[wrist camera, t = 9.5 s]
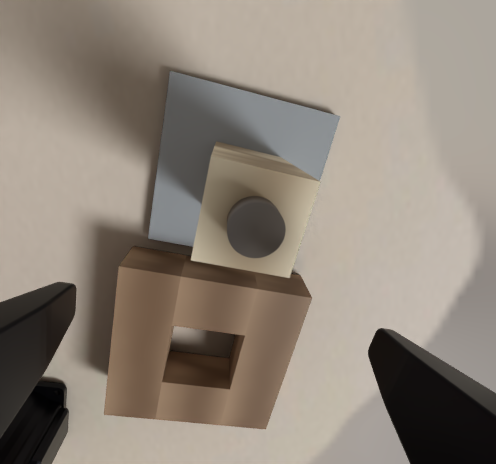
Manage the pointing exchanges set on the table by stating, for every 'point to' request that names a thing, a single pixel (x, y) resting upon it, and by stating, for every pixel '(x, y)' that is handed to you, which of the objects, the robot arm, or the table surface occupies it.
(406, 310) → the table surface
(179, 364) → the socket block
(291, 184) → the plug
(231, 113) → the mat
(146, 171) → the table surface
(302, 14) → the table surface
